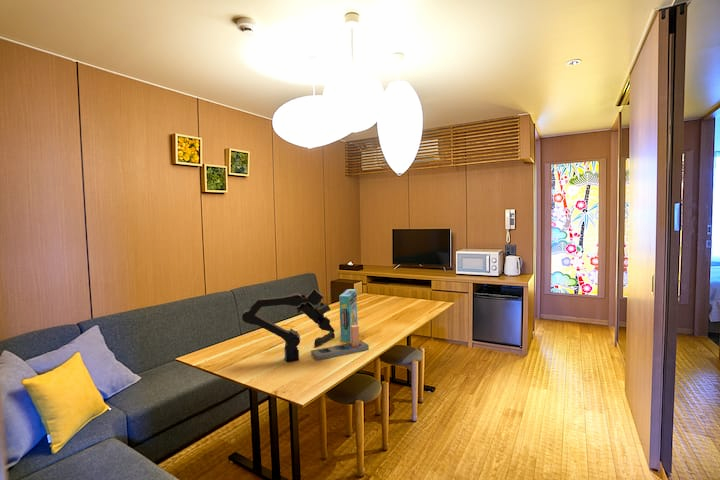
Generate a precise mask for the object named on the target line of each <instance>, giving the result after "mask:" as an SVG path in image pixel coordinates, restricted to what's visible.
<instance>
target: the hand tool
mask: <svg viewBox="0 0 720 480" xmlns="http://www.w3.org/2000/svg"><path fill="white" fill-rule="evenodd" d="M334 338H336V337H335V331H334V332H330V331H328V332H327V334H324V335H323V336H320V337H319V336H318V337H317V338H315V339H314V343H313V345H314V346H313V347H314V348H318V347H320V346H322V344H324V343H326V342H327V341H330V340H331V339H334Z"/></svg>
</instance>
